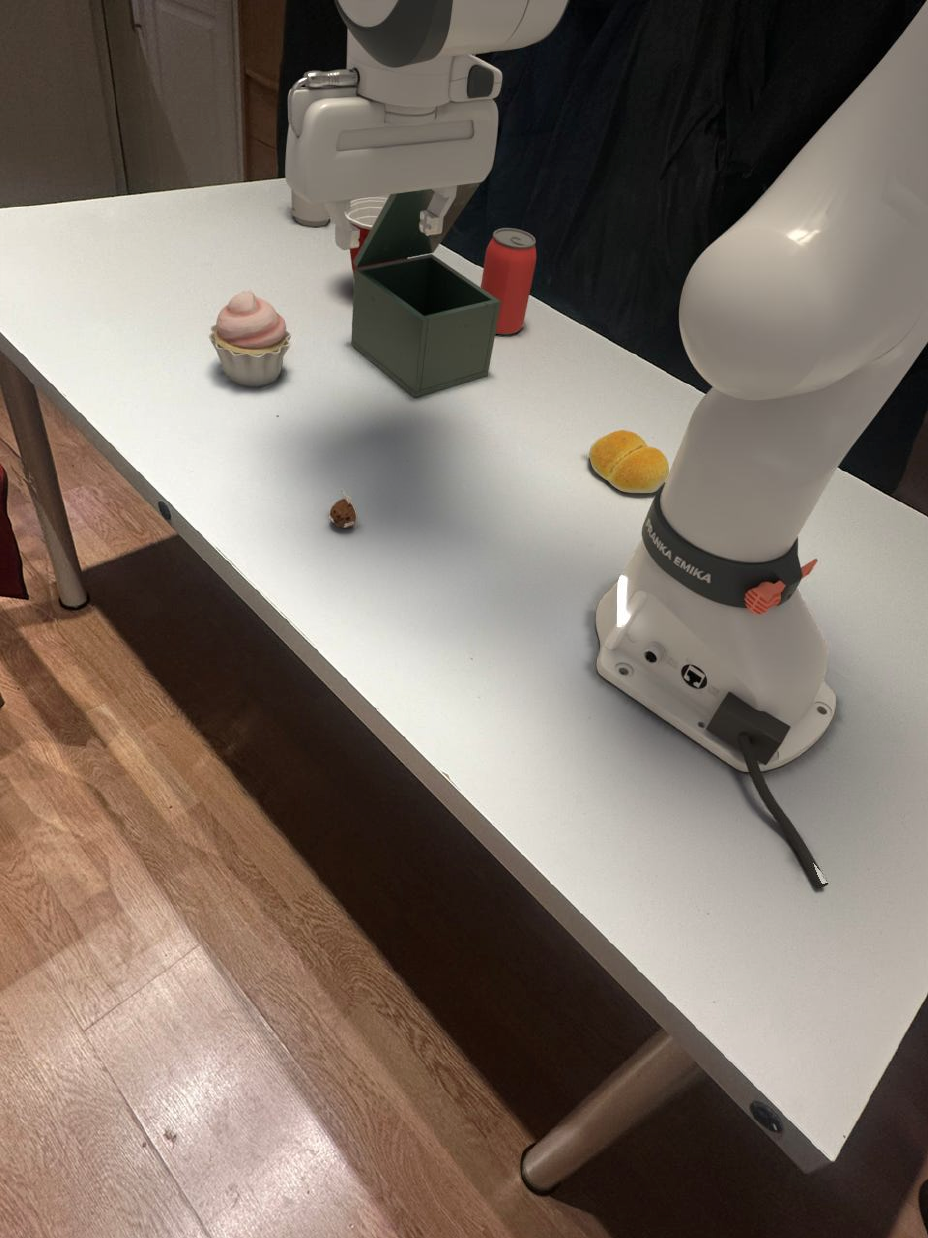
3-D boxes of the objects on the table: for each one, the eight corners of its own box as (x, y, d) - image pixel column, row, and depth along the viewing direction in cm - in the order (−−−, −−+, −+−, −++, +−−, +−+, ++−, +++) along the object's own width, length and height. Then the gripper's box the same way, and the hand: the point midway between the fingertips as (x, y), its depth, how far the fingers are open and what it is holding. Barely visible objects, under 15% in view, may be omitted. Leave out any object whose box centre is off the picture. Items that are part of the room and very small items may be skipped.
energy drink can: (310, 208, 132) (310, 102, 121) (338, 221, 130) (341, 115, 119) (283, 217, 128) (281, 109, 117) (312, 230, 126) (313, 121, 116)
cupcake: (301, 392, 95) (300, 309, 88) (218, 397, 92) (211, 312, 85) (284, 350, 101) (283, 270, 94) (206, 354, 98) (198, 271, 91)
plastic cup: (321, 297, 112) (323, 205, 103) (359, 269, 119) (363, 181, 111) (393, 321, 110) (400, 229, 101) (426, 292, 117) (436, 204, 109)
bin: (487, 375, 104) (501, 301, 97) (414, 397, 98) (422, 320, 91) (423, 326, 110) (431, 253, 103) (350, 344, 104) (354, 268, 97)
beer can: (491, 339, 110) (506, 249, 102) (466, 316, 114) (479, 227, 105) (531, 333, 113) (549, 245, 105) (506, 310, 117) (522, 223, 108)
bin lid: (488, 171, 90) (467, 130, 91) (403, 183, 85) (381, 139, 85) (433, 252, 103) (415, 216, 103) (355, 267, 97) (336, 229, 97)
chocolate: (322, 518, 81) (323, 486, 78) (343, 512, 82) (344, 480, 79) (337, 537, 79) (338, 504, 76) (357, 531, 80) (359, 498, 77)
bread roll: (633, 506, 89) (644, 476, 86) (575, 462, 93) (584, 433, 90) (680, 482, 93) (692, 453, 91) (623, 441, 98) (632, 412, 95)
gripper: (310, 84, 60) (310, 271, 70) (517, 73, 71) (492, 237, 80) (267, 59, 63) (273, 241, 73) (472, 52, 74) (453, 213, 84)
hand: (389, 239), depth 77 cm, fingers open, 8 cm apart
